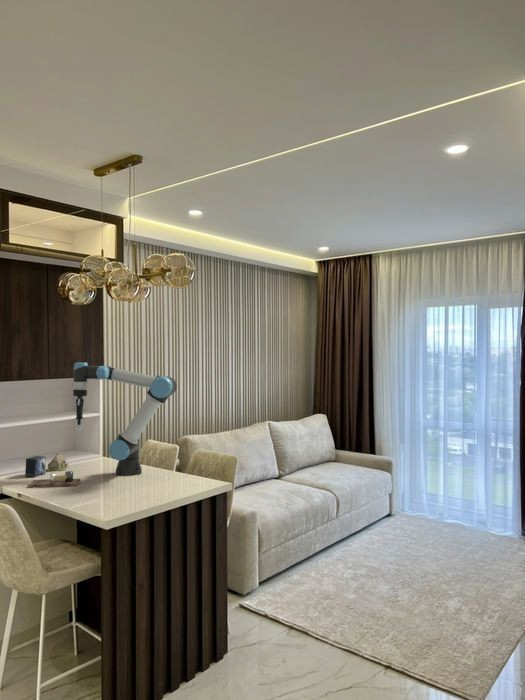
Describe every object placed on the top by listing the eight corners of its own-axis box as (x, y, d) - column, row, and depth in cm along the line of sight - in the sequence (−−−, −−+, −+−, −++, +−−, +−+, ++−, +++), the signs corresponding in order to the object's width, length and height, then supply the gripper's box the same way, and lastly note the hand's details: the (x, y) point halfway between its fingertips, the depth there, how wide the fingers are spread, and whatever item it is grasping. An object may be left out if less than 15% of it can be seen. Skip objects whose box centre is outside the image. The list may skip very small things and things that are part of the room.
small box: (34, 477, 301) (35, 459, 302) (24, 477, 302) (25, 458, 303) (46, 474, 312) (46, 456, 312) (36, 473, 313) (36, 455, 313)
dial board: (80, 481, 293) (80, 478, 294) (77, 486, 281) (77, 483, 281) (33, 482, 289) (33, 479, 289) (28, 487, 276) (28, 484, 276)
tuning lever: (71, 479, 289) (71, 470, 289) (74, 480, 286) (74, 471, 286) (48, 482, 281) (48, 473, 281) (51, 483, 278) (51, 474, 278)
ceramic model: (60, 472, 318) (61, 455, 319) (42, 471, 320) (43, 454, 320) (71, 468, 332) (72, 451, 333) (54, 467, 334) (55, 451, 334)
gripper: (74, 388, 313) (73, 429, 312) (71, 389, 301) (70, 431, 300) (88, 388, 315) (87, 429, 314) (85, 389, 302) (84, 431, 301)
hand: (79, 430), depth 307 cm, fingers closed
